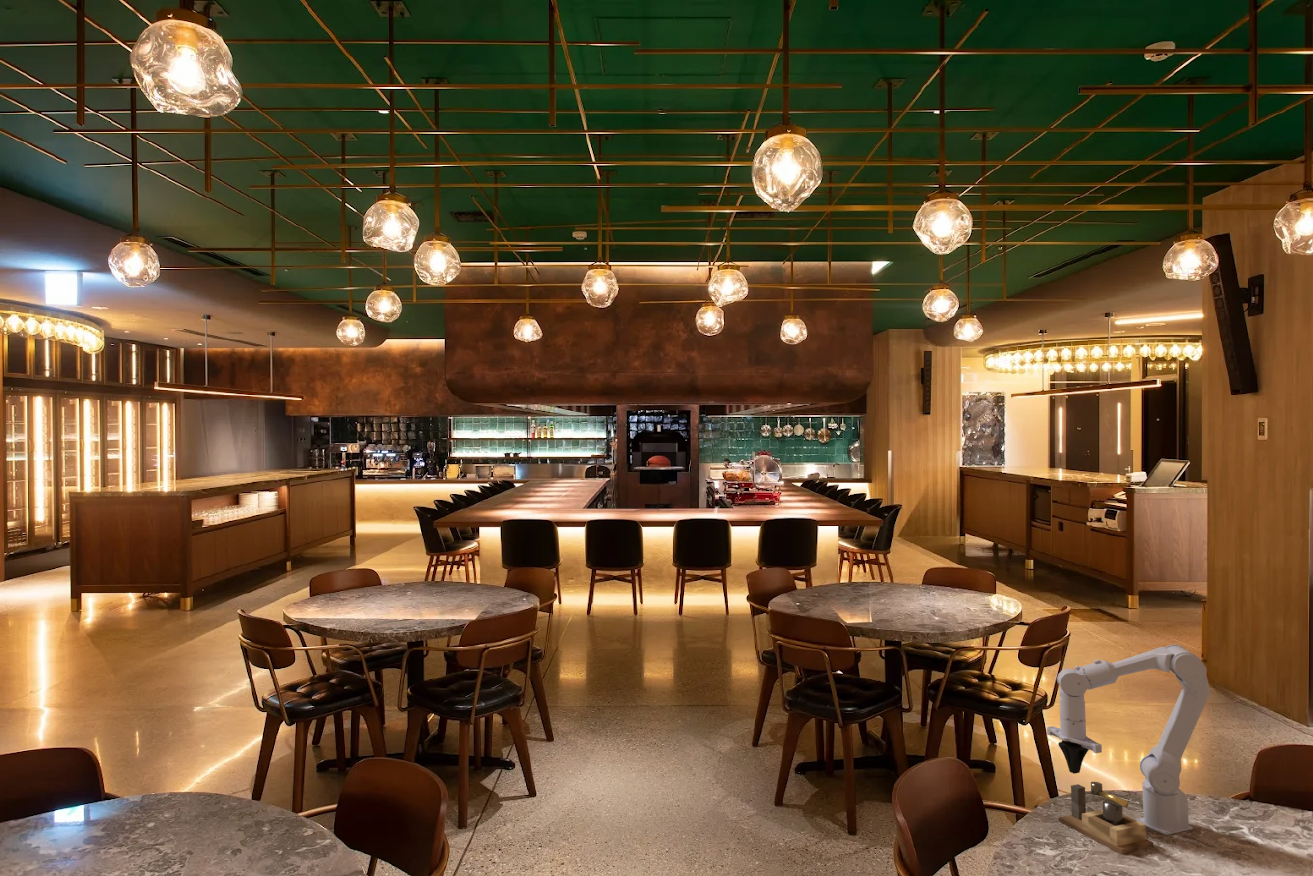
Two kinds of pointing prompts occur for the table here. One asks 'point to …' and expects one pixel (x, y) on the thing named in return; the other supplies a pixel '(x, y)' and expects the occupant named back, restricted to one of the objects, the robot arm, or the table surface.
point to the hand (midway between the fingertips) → (1074, 772)
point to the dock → (1105, 826)
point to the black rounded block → (1112, 813)
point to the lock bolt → (1106, 794)
